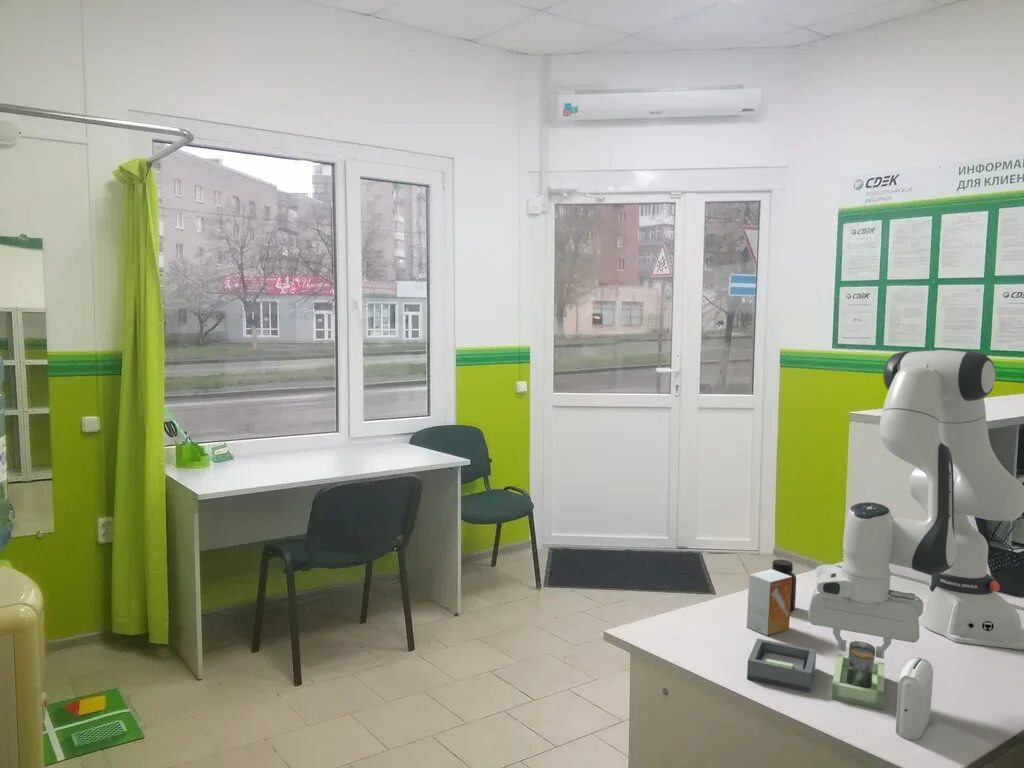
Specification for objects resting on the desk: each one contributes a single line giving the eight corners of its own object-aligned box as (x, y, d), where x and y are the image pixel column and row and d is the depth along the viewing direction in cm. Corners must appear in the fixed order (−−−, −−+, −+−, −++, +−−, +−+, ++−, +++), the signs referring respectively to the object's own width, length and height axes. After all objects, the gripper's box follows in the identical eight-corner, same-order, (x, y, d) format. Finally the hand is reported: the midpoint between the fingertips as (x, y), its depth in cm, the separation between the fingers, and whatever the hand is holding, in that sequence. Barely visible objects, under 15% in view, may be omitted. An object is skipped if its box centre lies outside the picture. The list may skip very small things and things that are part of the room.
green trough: (883, 677, 161) (884, 663, 160) (882, 709, 147) (883, 694, 147) (836, 667, 165) (837, 653, 164) (831, 698, 151) (832, 683, 151)
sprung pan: (804, 663, 163) (804, 659, 163) (800, 679, 156) (800, 675, 156) (764, 655, 167) (765, 651, 167) (758, 670, 159) (759, 666, 159)
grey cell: (872, 680, 157) (875, 642, 156) (871, 690, 153) (875, 651, 152) (847, 674, 159) (850, 637, 158) (845, 684, 155) (849, 646, 154)
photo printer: (918, 744, 136) (923, 675, 135) (892, 735, 139) (896, 668, 137) (932, 721, 144) (937, 656, 142) (907, 712, 146) (911, 649, 145)
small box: (767, 636, 180) (770, 582, 179) (745, 627, 185) (748, 573, 184) (790, 629, 184) (793, 576, 183) (767, 620, 190) (770, 568, 188)
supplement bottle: (771, 601, 202) (773, 556, 201) (798, 607, 198) (800, 561, 197) (762, 609, 197) (765, 562, 196) (790, 615, 193) (792, 568, 192)
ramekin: (866, 590, 212) (868, 571, 211) (848, 600, 204) (850, 581, 204) (826, 579, 220) (827, 561, 219) (808, 588, 212) (809, 570, 212)
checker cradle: (815, 668, 164) (816, 647, 164) (809, 692, 153) (810, 670, 153) (756, 656, 169) (757, 635, 169) (746, 679, 159) (748, 657, 158)
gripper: (923, 590, 152) (918, 658, 154) (812, 573, 161) (808, 637, 163) (924, 600, 147) (919, 671, 148) (809, 582, 156) (805, 649, 157)
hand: (860, 653), depth 155 cm, fingers open, 5 cm apart
